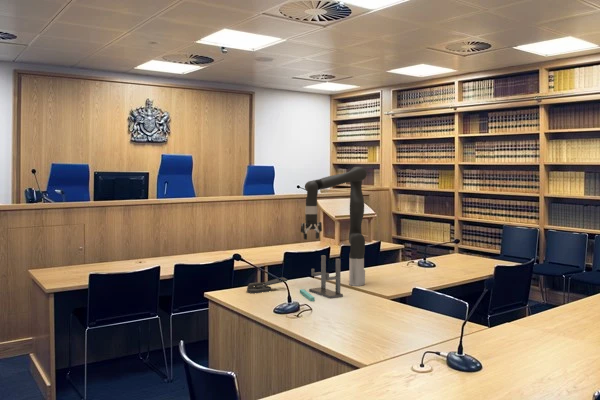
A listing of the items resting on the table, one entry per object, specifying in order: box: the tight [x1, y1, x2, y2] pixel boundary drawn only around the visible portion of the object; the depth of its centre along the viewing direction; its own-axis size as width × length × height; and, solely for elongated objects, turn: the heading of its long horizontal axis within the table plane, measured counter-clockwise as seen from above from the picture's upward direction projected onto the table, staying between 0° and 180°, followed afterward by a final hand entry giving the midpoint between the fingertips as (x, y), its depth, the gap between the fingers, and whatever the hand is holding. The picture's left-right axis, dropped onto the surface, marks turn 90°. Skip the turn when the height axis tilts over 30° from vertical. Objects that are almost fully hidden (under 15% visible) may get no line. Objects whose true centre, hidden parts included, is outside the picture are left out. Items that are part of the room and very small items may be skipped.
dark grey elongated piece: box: [246, 276, 288, 294], centre depth 323 cm, size 9×7×25 cm
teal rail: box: [299, 288, 316, 302], centre depth 307 cm, size 2×22×2 cm, turn 16°
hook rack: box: [308, 254, 344, 300], centre depth 313 cm, size 9×22×22 cm, turn 32°
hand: (311, 239), depth 332 cm, fingers open, 8 cm apart
